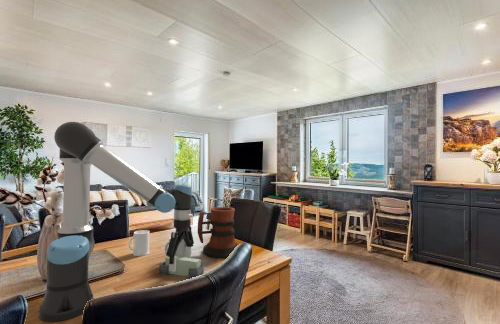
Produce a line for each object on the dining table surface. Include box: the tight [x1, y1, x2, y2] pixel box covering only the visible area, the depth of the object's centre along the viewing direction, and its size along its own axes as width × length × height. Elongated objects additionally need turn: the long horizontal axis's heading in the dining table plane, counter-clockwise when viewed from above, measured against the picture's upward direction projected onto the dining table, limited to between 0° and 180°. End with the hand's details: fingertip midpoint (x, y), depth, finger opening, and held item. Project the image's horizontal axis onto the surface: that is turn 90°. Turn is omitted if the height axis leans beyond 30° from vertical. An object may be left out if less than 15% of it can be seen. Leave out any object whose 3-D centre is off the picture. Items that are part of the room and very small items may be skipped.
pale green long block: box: [164, 256, 202, 277], centre depth 119 cm, size 4×16×7 cm, turn 74°
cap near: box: [187, 263, 205, 279], centre depth 116 cm, size 6×4×4 cm
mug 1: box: [128, 229, 150, 257], centre depth 143 cm, size 12×8×12 cm
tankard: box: [197, 206, 239, 260], centre depth 149 cm, size 22×25×25 cm
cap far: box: [158, 261, 169, 276], centre depth 120 cm, size 6×4×4 cm
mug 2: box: [164, 236, 186, 257], centre depth 131 cm, size 15×11×13 cm
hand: (180, 265), depth 118 cm, fingers open, 13 cm apart
